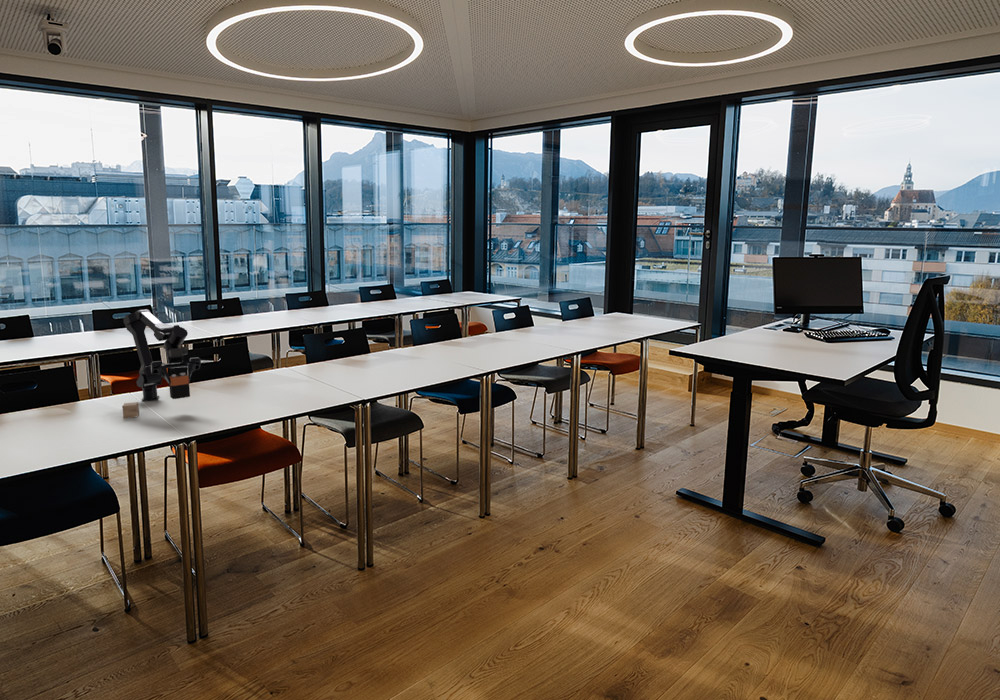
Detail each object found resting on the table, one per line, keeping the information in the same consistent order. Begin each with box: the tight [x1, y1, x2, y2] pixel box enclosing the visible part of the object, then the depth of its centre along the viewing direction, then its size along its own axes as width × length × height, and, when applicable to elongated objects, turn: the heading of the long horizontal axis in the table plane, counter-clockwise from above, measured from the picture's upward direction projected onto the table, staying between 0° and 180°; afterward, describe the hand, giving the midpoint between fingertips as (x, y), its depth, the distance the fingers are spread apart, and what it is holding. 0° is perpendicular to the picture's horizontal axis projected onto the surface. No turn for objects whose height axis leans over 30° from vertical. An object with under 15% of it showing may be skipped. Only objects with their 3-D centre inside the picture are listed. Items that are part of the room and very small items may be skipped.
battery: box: [168, 372, 191, 400], centre depth 282 cm, size 4×7×10 cm, turn 130°
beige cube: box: [122, 401, 140, 419], centre depth 278 cm, size 5×5×5 cm
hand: (179, 382), depth 280 cm, fingers closed on battery, 7 cm apart
